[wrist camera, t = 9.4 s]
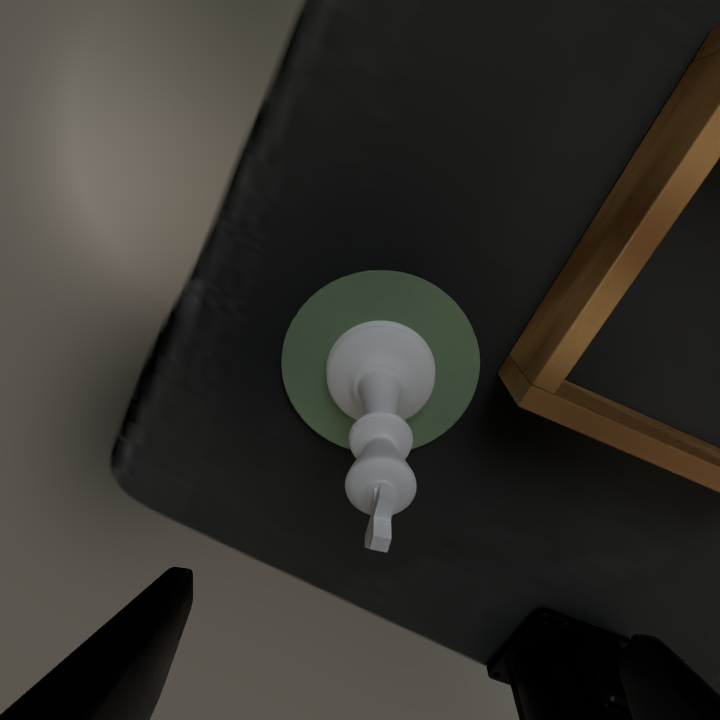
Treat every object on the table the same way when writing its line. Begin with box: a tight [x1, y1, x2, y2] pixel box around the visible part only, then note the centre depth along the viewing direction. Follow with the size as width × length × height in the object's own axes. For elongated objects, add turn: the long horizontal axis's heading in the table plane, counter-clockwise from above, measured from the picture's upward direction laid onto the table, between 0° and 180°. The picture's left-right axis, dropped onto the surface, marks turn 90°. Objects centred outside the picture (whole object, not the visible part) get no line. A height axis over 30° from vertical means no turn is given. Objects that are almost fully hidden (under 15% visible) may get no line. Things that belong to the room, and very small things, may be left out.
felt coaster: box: [281, 270, 480, 450], centre depth 19 cm, size 9×9×1 cm
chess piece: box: [326, 321, 435, 552], centre depth 15 cm, size 5×5×10 cm
